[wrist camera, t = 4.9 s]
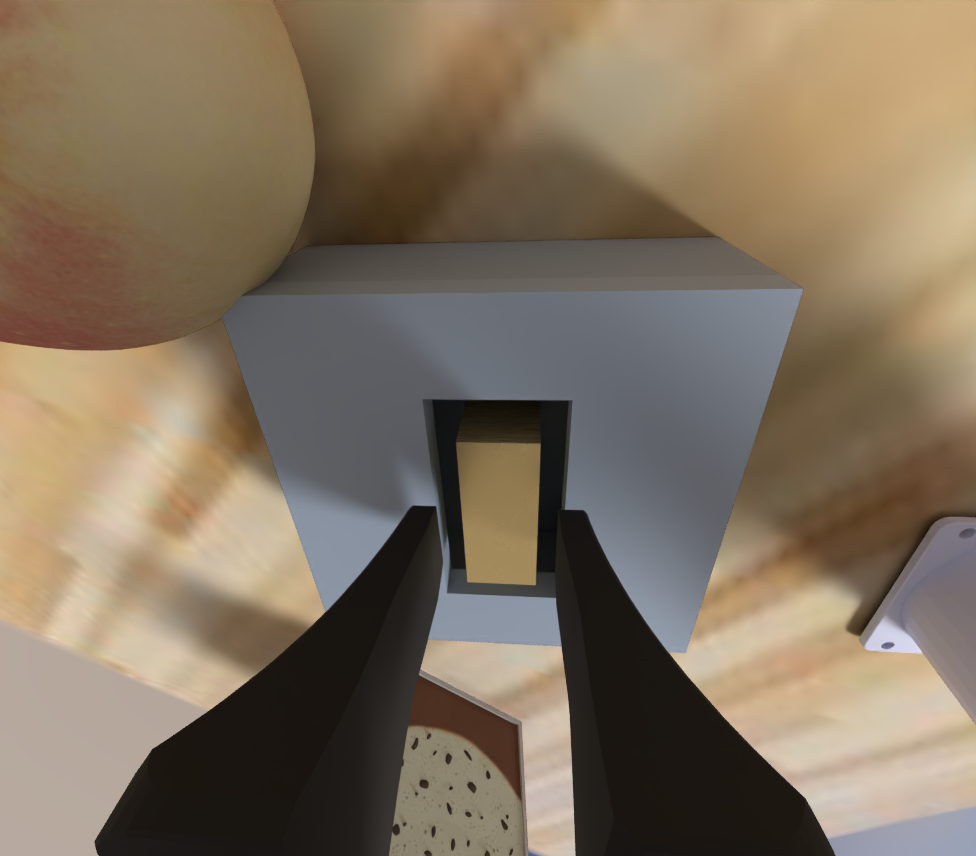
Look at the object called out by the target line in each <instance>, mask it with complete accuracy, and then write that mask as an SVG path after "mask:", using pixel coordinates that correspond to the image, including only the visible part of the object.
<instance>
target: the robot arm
mask: <svg viewBox="0 0 976 856" xmlns="http://www.w3.org/2000/svg"><path fill="white" fill-rule="evenodd" d="M442 568H443V555H442V547H441V539H440V532H439V524H438V516H437V508H436V506H415V505H413V506H412V507H410V508H409V510H408V511H407V513H406V514H405V515H404V517H403V518H402V520H401V521H400V523H399V524H398V526H397V527H396V528H395V530H394V531H393V533H392V534H391V535H390V537H389V538H388V539H387V541H386V542H385V543H384V545H383V546H382V547H381V549H380V550H379V551H378V552H377V554H376V555H375V556H374V557H373V559H372V560H371V561H370V562H369V564H368V565H367V566H366V567H365V569H364V570H363V571H362V572H361V574H360V575H359V576H358V577H357V578H356V579H355V580H354V581H353V583H352V584H351V585H350V586H349V587H348V588H347V589H346V591H345V592H344V593H343V594H342V595H341V596H340V597H339V598H338V600H337V601H336V602H335V603H334V604H333V605H332V606H331V607H330V608H329V609H328V610H327V611H326V612H325V613H324V614H323V615H322V616H321V617H320V618H319V619H318V620H317V621H316V622H315V623H314V624H313V625H312V626H311V627H310V628H309V629H308V630H307V631H306V632H305V633H304V634H303V635H302V636H300V637H299V638H298V639H297V640H296V641H295V642H294V643H293V644H292V645H290V646H289V647H288V648H287V649H286V650H285V651H284V652H283V653H282V654H280V655H279V656H278V657H277V658H276V659H275V660H273V661H272V662H271V663H270V664H269V665H268V666H266V667H265V668H264V669H263V670H261V671H260V672H259V673H258V674H256V675H255V676H254V677H253V678H251V679H250V680H249V681H247V682H246V683H245V684H244V685H242V686H241V687H240V688H238V689H237V690H236V691H235V692H233V693H232V694H231V695H230V696H228V697H227V698H226V699H224V700H223V701H222V702H220V703H219V704H218V705H216V706H215V707H214V708H212V709H211V710H209V711H208V712H207V713H205V714H204V715H202V716H201V717H200V718H198V719H196V720H195V721H194V722H192V723H191V724H189V725H188V726H186V727H185V728H183V729H182V730H180V731H179V732H178V733H176V734H175V735H173V736H172V737H171V738H169V739H167V740H166V741H164V742H163V743H161V744H160V745H158V746H157V747H155V748H154V749H152V750H151V752H150V753H149V755H148V756H147V758H146V759H145V761H144V762H143V764H142V765H141V766H140V768H139V769H138V771H137V772H136V773H135V775H134V777H133V778H132V780H131V782H130V783H129V785H128V787H127V789H126V790H125V792H124V793H123V795H122V797H121V798H120V800H119V802H118V803H117V805H116V807H115V808H114V810H113V812H112V813H111V815H110V816H109V818H108V820H107V822H106V823H105V825H104V827H103V828H102V830H101V832H100V833H99V835H98V836H97V838H96V840H95V847H96V850H97V854H98V855H99V856H389V852H390V844H391V837H392V830H393V823H394V816H395V809H396V802H397V794H398V788H399V781H400V775H401V768H402V762H403V755H404V749H405V743H406V737H407V730H408V724H409V718H410V712H411V706H412V701H413V697H414V692H415V688H416V683H417V680H418V676H419V672H420V668H421V664H422V660H423V656H424V653H425V649H426V645H427V641H428V637H429V633H430V630H431V626H432V622H433V618H434V614H435V610H436V606H437V602H438V596H439V590H440V583H441V576H442ZM555 582H556V607H557V615H558V623H559V631H560V638H561V646H562V654H563V661H564V669H565V676H566V684H567V691H568V701H569V712H570V729H571V751H572V774H573V798H574V824H575V851H576V856H835V854H834V851H833V849H832V847H831V845H830V843H829V841H828V839H827V837H826V836H825V834H824V832H823V830H822V828H821V826H820V824H819V822H818V820H817V818H816V817H815V815H814V813H813V811H812V809H811V807H810V806H809V804H808V802H807V800H806V799H805V798H804V797H803V796H802V795H801V794H800V793H799V792H798V791H797V790H796V789H795V788H794V787H793V786H792V785H791V784H790V783H789V782H787V781H786V780H785V779H784V778H783V777H782V776H781V775H780V774H779V773H778V772H777V771H776V770H775V769H774V768H773V767H772V766H771V765H770V764H769V763H768V762H767V761H766V760H765V759H764V758H763V757H762V756H761V755H760V754H759V753H758V752H757V751H756V750H755V749H754V748H753V747H752V746H751V745H750V744H749V743H748V742H747V741H746V740H745V739H744V738H743V737H742V736H741V735H740V734H739V733H738V732H737V731H736V730H735V729H734V728H733V727H732V726H731V725H730V724H729V722H728V721H727V720H726V719H725V718H724V717H723V716H722V715H721V714H720V713H719V712H718V710H717V709H716V708H715V707H714V706H713V705H712V704H711V702H710V701H709V700H708V699H707V698H706V697H705V696H704V695H703V693H702V692H701V691H700V690H699V689H698V688H697V687H696V685H695V684H694V683H693V682H692V681H691V680H690V679H689V678H688V676H687V675H686V674H685V673H684V671H683V670H682V669H681V668H680V666H679V665H678V664H677V663H676V661H675V660H674V659H673V658H672V656H671V655H670V654H669V653H668V651H667V650H666V649H665V647H664V646H663V645H662V643H661V642H660V641H659V639H658V638H657V637H656V635H655V634H654V633H653V631H652V630H651V628H650V627H649V626H648V624H647V623H646V621H645V620H644V618H643V617H642V615H641V614H640V612H639V611H638V609H637V608H636V606H635V605H634V603H633V602H632V600H631V598H630V597H629V595H628V594H627V592H626V590H625V589H624V587H623V585H622V584H621V582H620V580H619V578H618V577H617V575H616V573H615V571H614V570H613V568H612V566H611V564H610V563H609V561H608V559H607V557H606V555H605V553H604V551H603V549H602V547H601V545H600V543H599V541H598V539H597V537H596V534H595V532H594V530H593V528H592V525H591V523H590V520H589V517H588V514H587V513H586V512H585V511H584V510H562V509H558V525H557V542H556V558H555ZM859 641H860V643H861V644H862V646H863V647H864V648H865V649H866V650H870V651H885V652H905V653H923V654H924V656H925V657H926V658H927V660H928V661H929V662H930V664H931V665H932V666H933V668H934V669H935V671H936V672H937V673H938V675H939V676H940V677H941V679H942V680H943V681H944V683H945V684H946V685H947V687H948V688H949V690H950V691H951V692H952V694H953V695H954V696H955V698H956V699H957V700H958V702H959V703H960V704H961V706H962V707H963V709H964V710H965V711H966V713H967V714H968V715H969V717H970V718H971V719H972V721H973V722H974V723H975V725H976V517H945V518H942V519H939V520H938V521H936V522H935V523H934V524H933V525H932V526H931V528H930V529H929V531H928V532H927V534H926V535H925V537H924V539H923V540H922V542H921V543H920V545H919V546H918V548H917V549H916V551H915V552H914V554H913V556H912V557H911V559H910V560H909V562H908V563H907V565H906V566H905V568H904V570H903V571H902V573H901V574H900V576H899V577H898V579H897V580H896V582H895V583H894V585H893V587H892V588H891V590H890V591H889V593H888V594H887V596H886V597H885V599H884V601H883V602H882V604H881V605H880V607H879V608H878V610H877V611H876V613H875V614H874V616H873V618H872V619H871V621H870V622H869V624H868V625H867V627H866V628H865V630H864V631H863V633H862V635H861V636H860V638H859Z"/></svg>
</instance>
